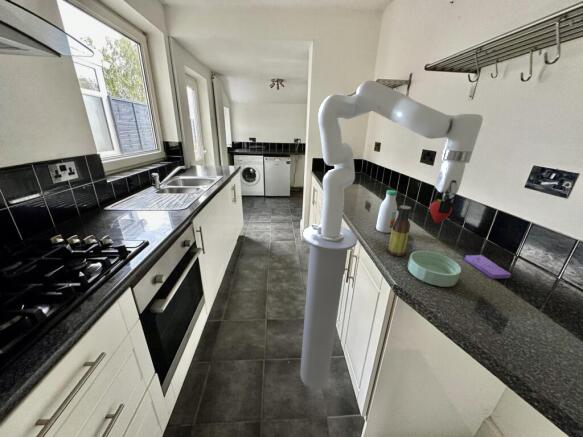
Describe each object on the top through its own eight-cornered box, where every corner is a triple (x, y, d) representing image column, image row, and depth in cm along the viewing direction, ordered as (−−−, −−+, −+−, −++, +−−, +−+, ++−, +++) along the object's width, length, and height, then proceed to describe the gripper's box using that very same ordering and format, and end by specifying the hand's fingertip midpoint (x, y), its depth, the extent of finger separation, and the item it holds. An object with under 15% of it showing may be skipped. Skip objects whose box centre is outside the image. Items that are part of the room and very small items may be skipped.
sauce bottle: (398, 248, 97) (408, 204, 90) (407, 256, 92) (419, 209, 84) (383, 249, 96) (393, 204, 89) (392, 257, 91) (403, 209, 83)
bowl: (409, 280, 77) (412, 268, 75) (405, 258, 90) (408, 247, 88) (462, 293, 72) (467, 280, 70) (450, 267, 85) (454, 256, 83)
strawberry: (437, 218, 86) (444, 192, 82) (451, 227, 79) (461, 199, 75) (422, 218, 85) (429, 192, 81) (435, 227, 78) (444, 198, 74)
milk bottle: (383, 234, 110) (392, 193, 103) (372, 228, 117) (379, 189, 109) (395, 232, 113) (404, 192, 106) (384, 226, 120) (391, 188, 112)
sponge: (480, 259, 92) (481, 255, 91) (510, 278, 80) (512, 274, 80) (463, 259, 91) (465, 255, 91) (491, 278, 80) (493, 274, 79)
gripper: (437, 153, 82) (424, 200, 89) (449, 158, 67) (433, 215, 73) (461, 155, 80) (446, 203, 86) (480, 161, 64) (460, 219, 71)
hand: (440, 208), depth 80 cm, fingers closed on strawberry, 7 cm apart
